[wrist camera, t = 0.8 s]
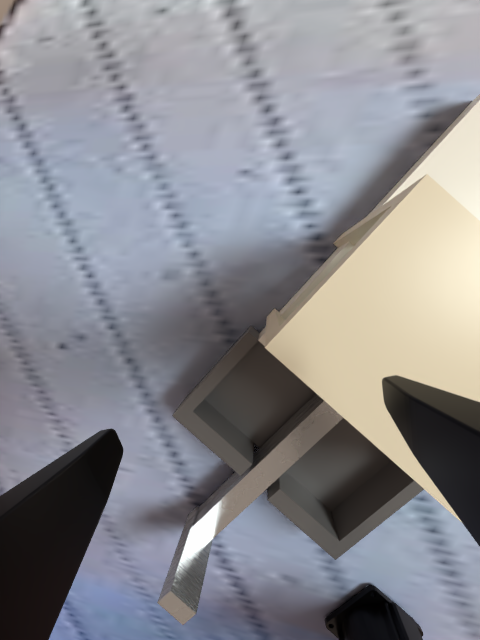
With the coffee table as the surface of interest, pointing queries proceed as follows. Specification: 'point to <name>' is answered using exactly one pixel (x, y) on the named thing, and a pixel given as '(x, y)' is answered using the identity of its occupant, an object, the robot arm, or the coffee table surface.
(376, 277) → the track
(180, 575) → the slider
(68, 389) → the coffee table surface
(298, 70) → the coffee table surface
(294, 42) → the coffee table surface
